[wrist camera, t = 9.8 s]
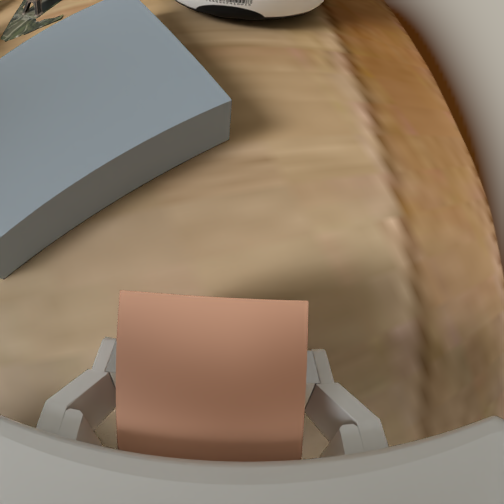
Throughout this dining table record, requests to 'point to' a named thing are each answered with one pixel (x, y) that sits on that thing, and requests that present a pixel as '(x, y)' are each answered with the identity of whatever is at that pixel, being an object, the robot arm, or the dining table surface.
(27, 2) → the eiffel tower figurine
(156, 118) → the plinth
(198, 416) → the terracotta block
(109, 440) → the dining table surface
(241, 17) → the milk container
